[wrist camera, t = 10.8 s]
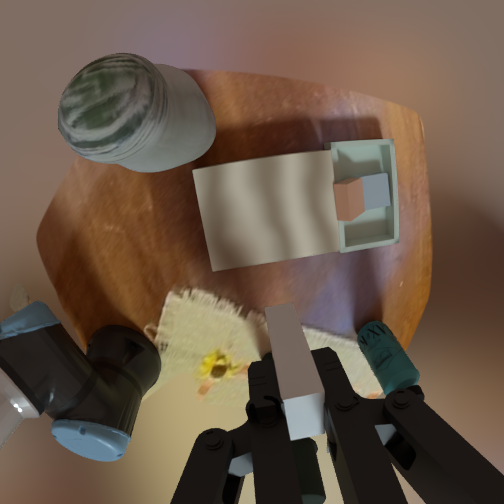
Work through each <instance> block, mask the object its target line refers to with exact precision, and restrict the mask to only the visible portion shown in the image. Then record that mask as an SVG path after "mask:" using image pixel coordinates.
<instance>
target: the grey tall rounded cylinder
mask: <svg viewBox="0 0 504 504" xmlns="http://www.w3.org/2000/svg"><path fill="white" fill-rule="evenodd" d="M58 129H59V131H60V132H61V134H62V136H63V137H64V139H65V140H66V142H67V143H68V144H69V146H70V147H71V148H72V149H73V150H74V151H75V152H76V153H77V154H79V155H80V156H82V157H84V158H86V159H88V160H91V161H94V162H99V163H107V164H120V165H122V166H124V167H126V168H128V169H130V170H134V171H138V172H159V171H164V170H168V169H171V168H174V167H177V166H180V165H182V164H186V163H188V162H191V161H193V160H195V159H197V158H199V157H200V156H202V155H203V154H204V153H205V152H206V151H207V150H208V149H209V148H210V147H211V145H212V143H213V141H214V139H215V136H216V121H215V117H214V114H213V112H212V109H211V107H210V105H209V103H208V101H207V99H206V97H205V96H204V94H203V92H202V91H201V89H200V87H199V86H198V84H197V83H196V82H195V80H194V79H193V78H192V77H191V76H190V75H189V74H187V73H186V72H184V71H182V70H180V69H178V68H175V67H172V66H168V65H163V64H153V63H151V62H150V61H148V60H147V59H146V58H144V57H141V56H139V55H136V54H128V53H117V54H111V55H108V56H104V57H102V58H99V59H97V60H95V61H94V62H91V63H89V64H88V65H87V66H85V67H84V68H83V69H81V70H80V71H79V72H78V73H77V74H76V75H75V77H74V78H73V79H72V80H71V81H70V83H69V84H68V85H67V87H66V88H65V90H64V92H63V94H62V97H61V101H60V104H59V109H58Z"/></svg>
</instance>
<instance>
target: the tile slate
mask: <svg viewBox="0 0 504 504" xmlns="http://www.w3.org/2000/svg"><path fill="white" fill-rule="evenodd" d="M353 177H355V178H362V183H363V194H364V205H365V210H370V209H375V208H380V207H385V206H390V205H391V203H390V193H389V184H388V175H387V173H385V172H376V173H370V174H363V175H357V176H353Z"/></svg>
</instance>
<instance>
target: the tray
mask: <svg viewBox="0 0 504 504" xmlns="http://www.w3.org/2000/svg"><path fill="white" fill-rule="evenodd" d="M323 145H324V150H331V154H332V162H333V171H334V180H335V183H338V182H340V181H342V180H345V179H347V178H349V177H353V176H357V175H363V174H370V173H376V172H385V173H387V175H388V184H389V193H390V203H391V205H390V206H385V207H380V208H375V209H370V210H365V212H363V213H362V214H361V215H359V216H358V217H356V218H355V219H354V220H352V221H351V222H349V221H338V225H339V240H340V251H339V252H340V253H345V252H351V251H356V250H362V249H368V248H373V247H379V246H385V245H390V244H396V243H399V214H398V187H397V171H396V159H395V148H394V139H373V140H355V141H340V142H328V143H323Z"/></svg>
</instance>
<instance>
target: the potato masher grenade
mask: <svg viewBox="0 0 504 504" xmlns="http://www.w3.org/2000/svg"><path fill="white" fill-rule="evenodd" d="M268 359H273V355H272V353H268V354H266V355H265V356H264V357H263V359H262V360H268ZM291 444H292V449H293V455H294V460H295V465H296V470H297V475H298V480H299V485H300V491H301V496H302V501H303V504H323V503H324V501H325V499H326V495H325V490H324V486H323V481H322V477H321V472H320V468H319V464H318V459H317V455H316V453H317V450H318V447H317V444H316V442H315V441H314V440H313V439H311V438H310V437H306V438H301V439H296V440H291Z"/></svg>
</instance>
